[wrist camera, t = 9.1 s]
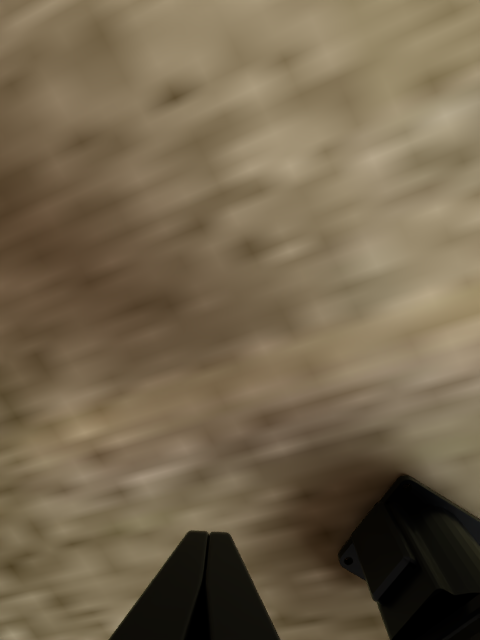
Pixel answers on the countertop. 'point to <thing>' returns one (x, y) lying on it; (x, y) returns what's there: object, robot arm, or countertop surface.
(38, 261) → the countertop surface
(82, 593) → the countertop surface
